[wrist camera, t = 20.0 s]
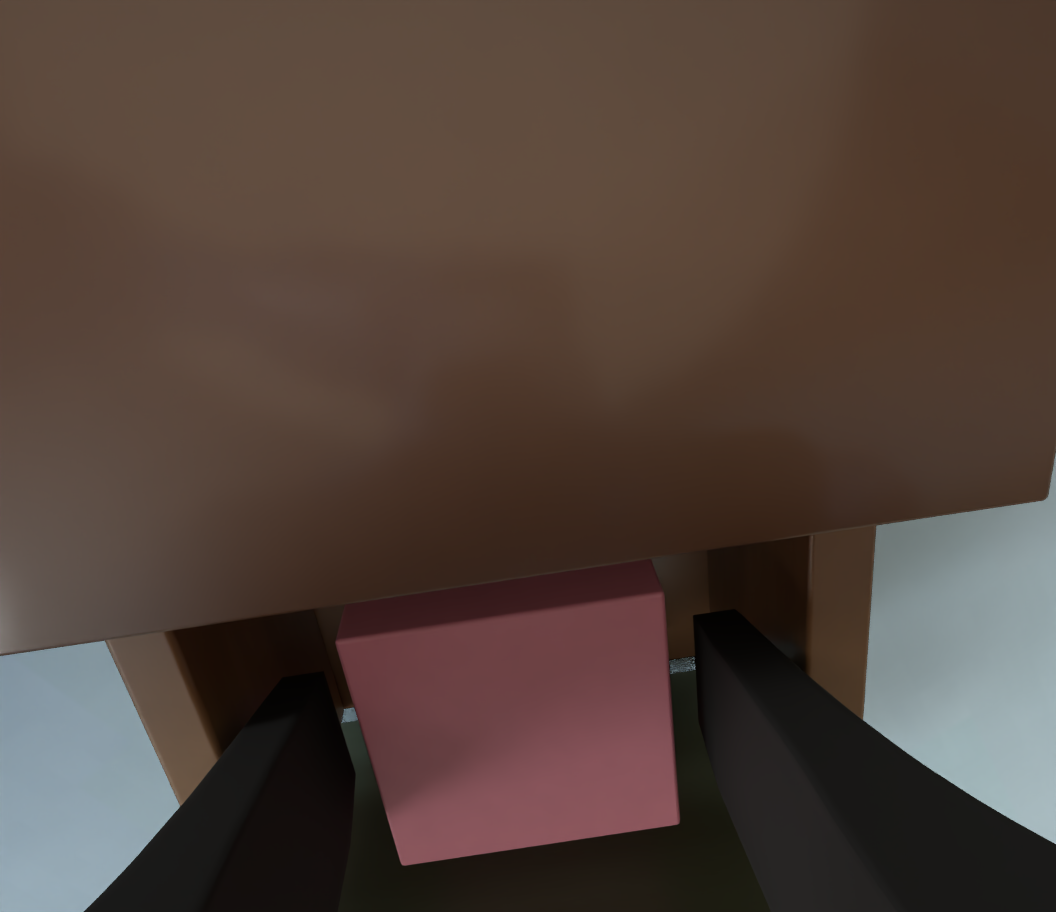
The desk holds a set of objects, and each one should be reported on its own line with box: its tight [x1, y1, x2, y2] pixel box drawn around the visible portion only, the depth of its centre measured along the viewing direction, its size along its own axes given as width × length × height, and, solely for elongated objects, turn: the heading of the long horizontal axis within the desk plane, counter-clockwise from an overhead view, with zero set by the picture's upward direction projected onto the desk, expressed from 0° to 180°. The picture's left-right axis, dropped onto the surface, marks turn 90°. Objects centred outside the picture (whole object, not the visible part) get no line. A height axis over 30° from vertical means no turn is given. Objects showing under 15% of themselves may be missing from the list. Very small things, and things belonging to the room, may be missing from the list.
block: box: [335, 559, 680, 865], centre depth 12 cm, size 4×4×4 cm
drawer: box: [105, 525, 876, 912], centre depth 13 cm, size 17×10×6 cm, turn 8°
